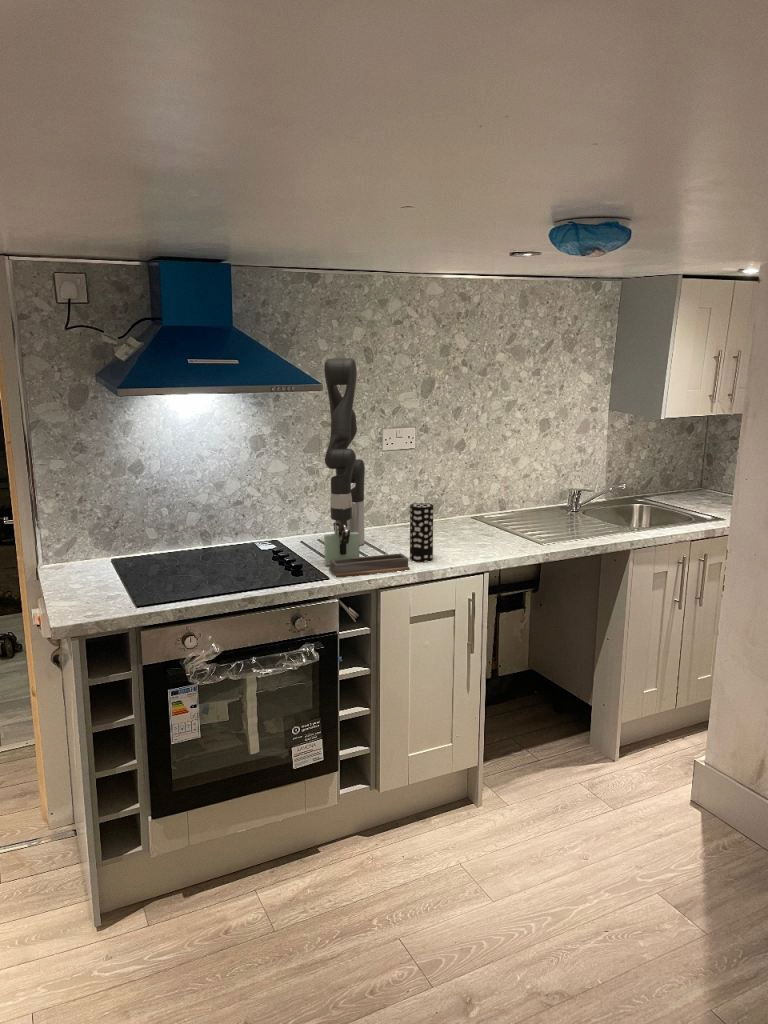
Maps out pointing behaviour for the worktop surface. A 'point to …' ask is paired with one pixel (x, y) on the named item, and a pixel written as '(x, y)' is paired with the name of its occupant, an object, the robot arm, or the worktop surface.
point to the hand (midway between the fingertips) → (342, 553)
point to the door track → (369, 565)
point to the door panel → (334, 547)
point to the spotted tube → (421, 532)
